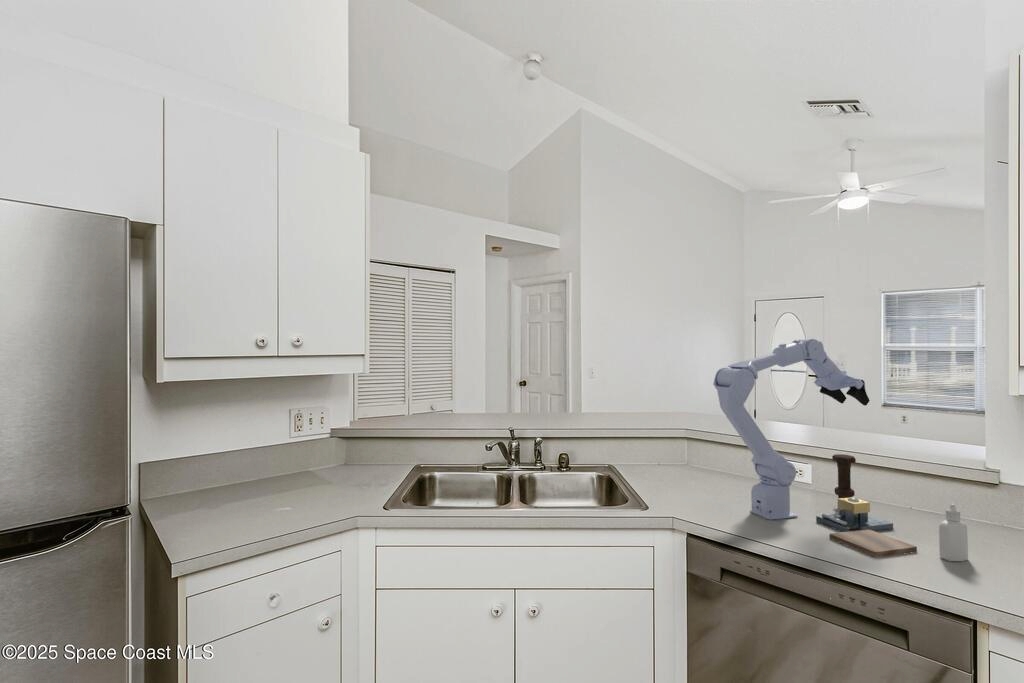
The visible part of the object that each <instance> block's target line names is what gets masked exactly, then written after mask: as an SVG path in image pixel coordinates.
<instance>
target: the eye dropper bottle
mask: <svg viewBox="0 0 1024 683" xmlns="http://www.w3.org/2000/svg"><path fill="white" fill-rule="evenodd" d="M938 529H939V530H938V532H939V533H938V534H939V537H938V539H939V544H938V546H939V558H940V559H943V560H944V561H947V560H948V562H951V561H961V562H965V561H967V560H968V559H969V541H968V539H969V538H968V526H967V524H966V523H965V522H962V521H961V511H960V510H958V509H957V508H956V504H954V503H950V506H949V508H946V509H945V519H944V520H943V521H941V522H940V523H939V527H938Z"/></svg>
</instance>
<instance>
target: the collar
mask: <svg viewBox="0 0 1024 683" xmlns="http://www.w3.org/2000/svg"><path fill="white" fill-rule="evenodd" d="M849 498H855V496H853V497H849ZM849 498H839V499H838V498H837V509H839V510H845V511H848V512H851V513H854V514H857V513H866V512H868V513H870V512H871V502H870V501H866V500H863V499H860V498H857V499H858V502H855V503H854V502H851V501H849Z"/></svg>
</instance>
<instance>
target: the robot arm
mask: <svg viewBox="0 0 1024 683" xmlns="http://www.w3.org/2000/svg"><path fill="white" fill-rule="evenodd" d="M824 347H825V346H824V344H823V342H822V341H819V340H818V339H815V338H808V339H807V338H801V339H794V340H792V341H791V342H790V343H788V344H786V343H780V344H778V347H775V348H774V349H773V350H772V353H769V354H766V355H762V356H757V357H753V358H751V359H746V360H743V361H742V360H741V361H739V362H734V363H732V364H729V365H727V367H722V368H719V369H718V370H717V371H716V373H715V375H714V379H713V386H714V388H715V389H716V391H717V396H718V401H719V407H720V409H721V411H722V412H723V414H724V415H725V417H726V418H727V419H728V421H729V422H730V424H731V426H733V428H734V429H735V431H736V432H737V433H738V435H739V437H740V438H741V440H742V441H743V443H744V444H745V445H746V447H747V448H748V449H749V451H750V452H751V454H752V455H753V456H752V458H751V462H752V463H753V466H754V471H755V473H756V475H757V476H759V477H758V478H759V479H758V480H759V481H760V482H758V483H756V484H753V486H752V488H751V492H750V493H751V497H750V498H751V499H750V500H751V509H749V512H750V513H753V514H755V515H756V516H757V515H758V516H760V517H762V518H764V519H766V520H771V521H772V520H780V519H781V520H782V519H791V518H792V519H793V518H798V514H796V513H793V512H791V498H790V497H791V494H790V493H791V491H790V489H791V486H792V483H793V482H794V480H795V479H796V477H797V471H796V467H795V465H794V464H793V463H791V462H790V461H788V460H787V459H786V457H785V456H783V455H782V454H781V453H779V452H778V451H776V450H775V449H774V448H773V446H772V445H771V444H770V442H769V441H768V439H767V437H766V436H765V435H764V434H763V432H762V430H761V429H760V427H759V426H758V425H757V423H756V422H755V420H754V419H753V417H752V416H751V414H750V413H749V412H748V410H747V408H746V407H745V406H744V405H745V403H746V401H747V400H748V398H749V396H750V394H751V392H752V390H753V388H754V386H755V382H756V380H758V378H759V376H758V375H759V373H758V372H760V371H763V370H766V369H768V368H771V367H774V366H776V365H777V366H778V367H781V368H785V367H788V366H790V365H794V364H798V363H800V362H803V363H805V365H806V366H807V367H808V368H809V369H810V371H812V373H814V374H815V376H817V377H816V379H815V380H814V382H813V383H814V385H815V386H817V387H820V389H819V392H820V393H821V394H823V395H826V396H828V397H830V398H832V399H833V400H835V401H837V402H838V403H840V404H844V403H845V402H846V400H847V397H846V395H848V396H850V397H852V398H854V399H855V400H856V401H858V402H859V403H860V404H861V405H862V406H867V405H868V404H869V403H870V401H871V400H870V398H869V396H868V394H867V390H866V384H865V383H866V382H865V381H864V380H863V379H859V378H855V377H854V376H853V377H852V376H850V375H848V372H847V371H846V370H841V368H839V366H837V364H836V363H835V362H834V361H833V360H832V359H831V358H830V357H829V356H828V354H827V352H826V351H825V348H824ZM846 388H847V389H848V388H849V389H848V390H847V391H846V393H845V394H846V395H845V394H844V392H843V391H842V389H846Z"/></svg>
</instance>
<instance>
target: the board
mask: <svg viewBox="0 0 1024 683" xmlns="http://www.w3.org/2000/svg"><path fill="white" fill-rule="evenodd" d="M829 539H830V540H832V539H833V540H832V541H834V540H835V541H834V542H837V543H839V542H840V543H839V544H841V543H842V544H841V545H844V544H845V545H844V546H846V545H847V547H849V548H851V547H852V549H853V548H854V550H856V551H858V552H860V551H861V553H863V554H866V555H868V556H870V557H873V558H875V559H876V558H882V557H883V556H884V557H888V556H890V555H891V556H897V555H898V556H899V555H903V554H904V553H906V554H912V553H911V552H913V553H917V552H918V547H917V546H915V545H914V544H910V543H907V542H905V541H902V540H899V539H897V538H894V537H891V536H888V535H886V534H882V532H881V533H880V532H879V531H872V530H870V529H865V530H857V531H848V532H842V531H839V532H834V533H832V532H831V533H829ZM904 555H905V554H904ZM891 556H890V557H891ZM884 557H883V558H884Z"/></svg>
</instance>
